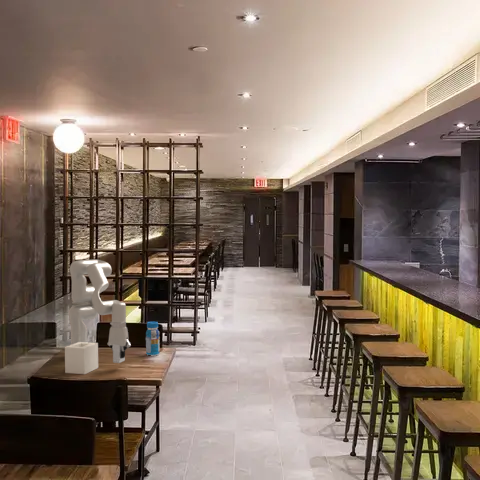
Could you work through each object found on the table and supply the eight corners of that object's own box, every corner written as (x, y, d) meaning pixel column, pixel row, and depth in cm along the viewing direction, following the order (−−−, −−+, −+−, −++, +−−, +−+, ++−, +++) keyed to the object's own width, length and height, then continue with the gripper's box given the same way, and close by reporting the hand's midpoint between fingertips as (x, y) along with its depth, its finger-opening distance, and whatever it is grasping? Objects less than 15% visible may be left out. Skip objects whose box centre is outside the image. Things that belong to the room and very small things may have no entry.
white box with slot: (65, 372, 318) (64, 347, 317) (79, 366, 331) (79, 341, 331) (84, 374, 314) (84, 348, 314) (98, 367, 328) (97, 343, 327)
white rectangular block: (113, 362, 321) (113, 344, 320) (118, 359, 326) (118, 342, 326) (119, 363, 319) (119, 344, 319) (124, 360, 325) (124, 342, 325)
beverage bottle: (143, 355, 356) (142, 323, 355) (150, 352, 364) (149, 320, 363) (155, 356, 353) (155, 323, 352) (162, 353, 361) (161, 321, 360)
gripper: (101, 325, 321) (102, 357, 322) (129, 327, 316) (129, 360, 317) (108, 322, 328) (108, 354, 329) (135, 324, 323) (135, 357, 324)
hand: (119, 357), depth 323 cm, fingers closed on white rectangular block, 4 cm apart
